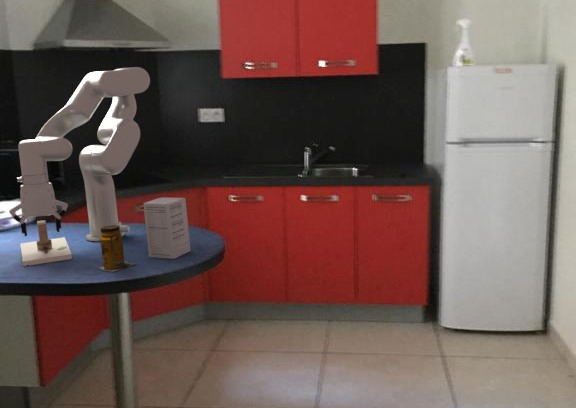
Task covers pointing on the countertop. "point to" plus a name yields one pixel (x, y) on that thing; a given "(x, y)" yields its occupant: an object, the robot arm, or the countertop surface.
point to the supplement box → (167, 227)
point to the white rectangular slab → (38, 256)
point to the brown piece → (43, 237)
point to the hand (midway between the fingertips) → (42, 233)
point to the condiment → (112, 249)
